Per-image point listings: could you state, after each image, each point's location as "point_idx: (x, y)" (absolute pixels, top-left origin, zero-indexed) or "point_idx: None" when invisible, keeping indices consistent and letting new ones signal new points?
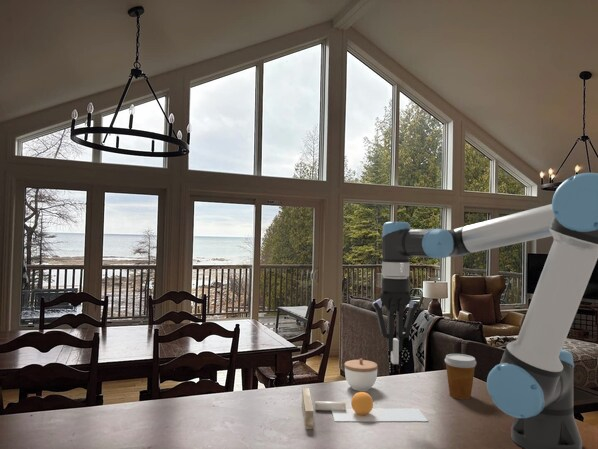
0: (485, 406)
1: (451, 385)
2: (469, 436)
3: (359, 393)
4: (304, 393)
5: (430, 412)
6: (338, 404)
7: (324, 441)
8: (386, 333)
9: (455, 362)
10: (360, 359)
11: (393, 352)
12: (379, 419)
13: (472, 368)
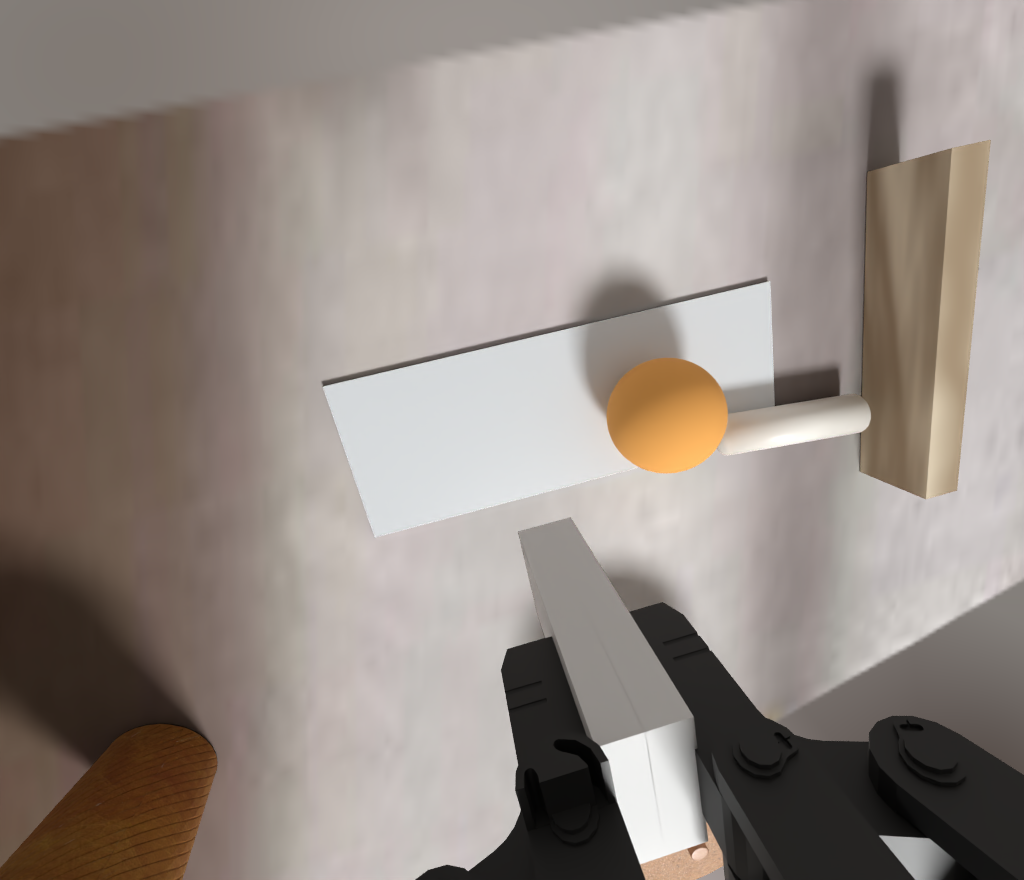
0: (18, 669)
1: (178, 788)
2: (87, 228)
3: (709, 418)
4: (957, 413)
5: (311, 512)
6: (764, 418)
7: (830, 18)
8: (935, 807)
9: None
10: (703, 845)
11: (609, 583)
12: (565, 347)
13: None
